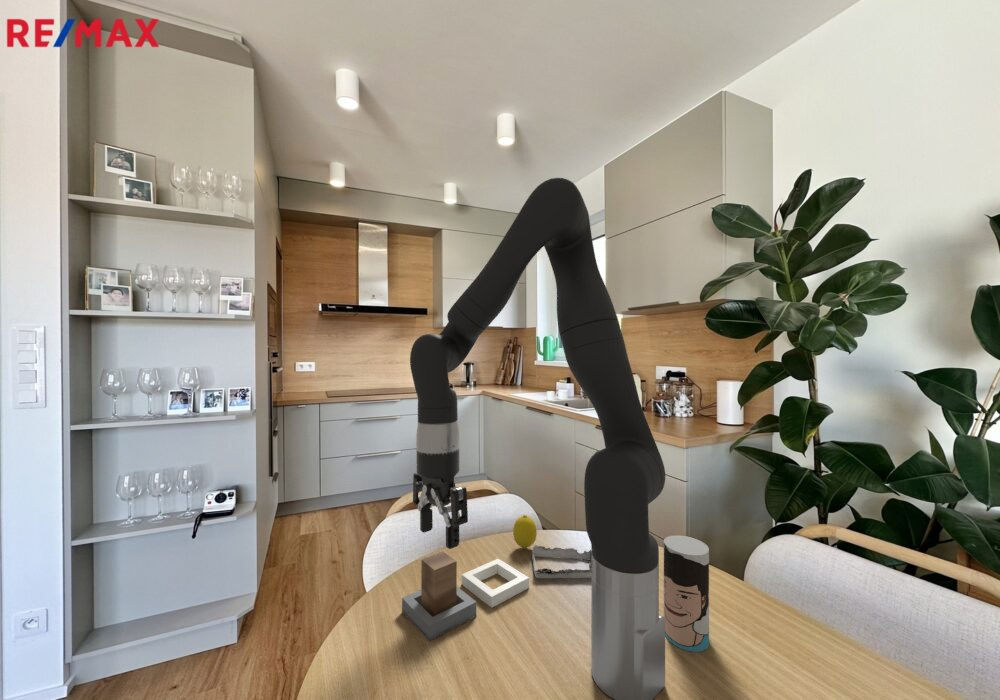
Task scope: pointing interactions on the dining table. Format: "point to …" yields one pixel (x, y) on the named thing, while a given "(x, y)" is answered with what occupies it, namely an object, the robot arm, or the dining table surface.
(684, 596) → the cup
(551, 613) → the dining table surface
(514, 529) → the lemon
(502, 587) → the white pocket frame
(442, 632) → the gray pocket tray
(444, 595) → the walnut block
